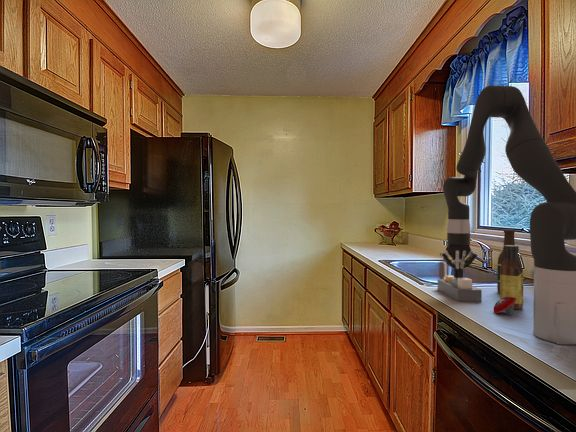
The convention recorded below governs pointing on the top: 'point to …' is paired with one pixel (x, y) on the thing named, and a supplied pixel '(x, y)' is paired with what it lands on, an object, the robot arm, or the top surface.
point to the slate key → (454, 281)
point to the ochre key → (449, 278)
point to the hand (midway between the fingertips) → (458, 278)
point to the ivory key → (464, 283)
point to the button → (505, 305)
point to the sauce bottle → (511, 276)
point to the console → (459, 291)
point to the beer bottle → (507, 241)
